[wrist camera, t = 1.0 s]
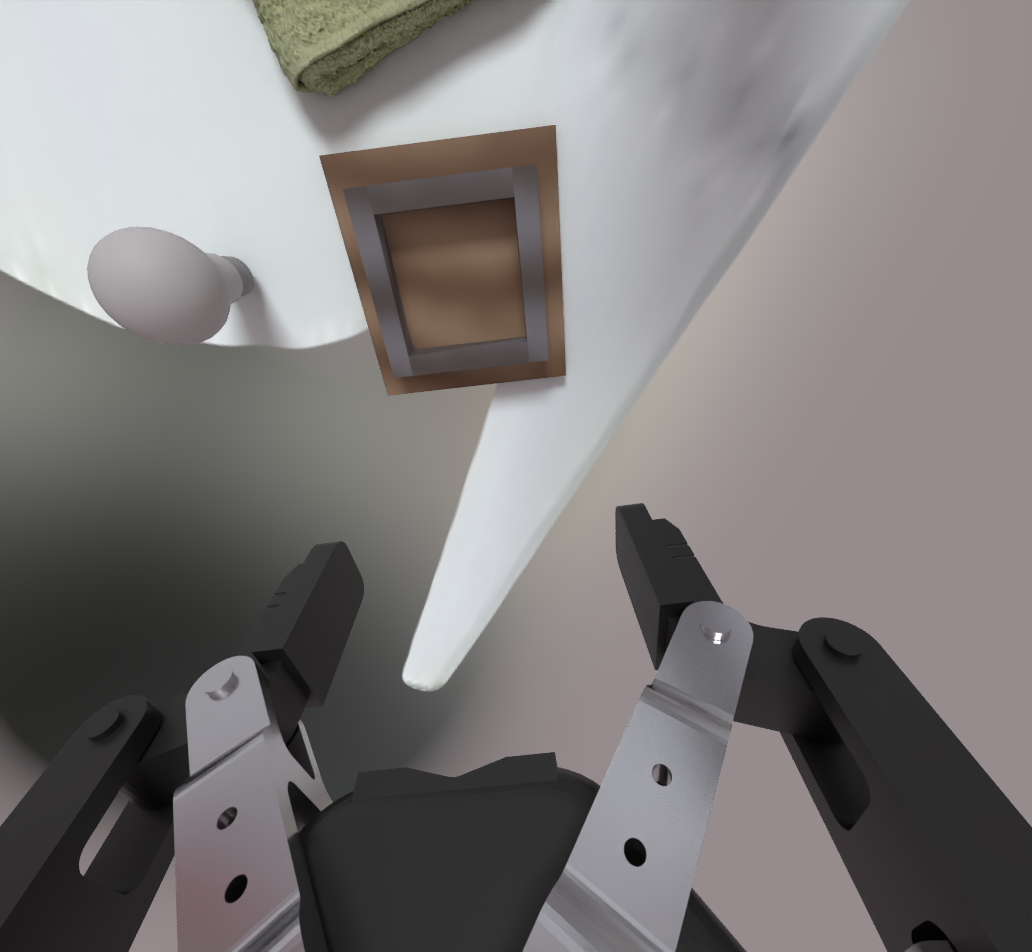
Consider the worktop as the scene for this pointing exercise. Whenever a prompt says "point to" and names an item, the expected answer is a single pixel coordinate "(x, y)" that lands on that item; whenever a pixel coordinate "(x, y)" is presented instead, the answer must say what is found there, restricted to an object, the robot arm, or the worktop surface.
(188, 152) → the worktop surface
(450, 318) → the socket stand
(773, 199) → the worktop surface
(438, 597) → the worktop surface
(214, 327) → the lightbulb
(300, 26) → the washcloth
